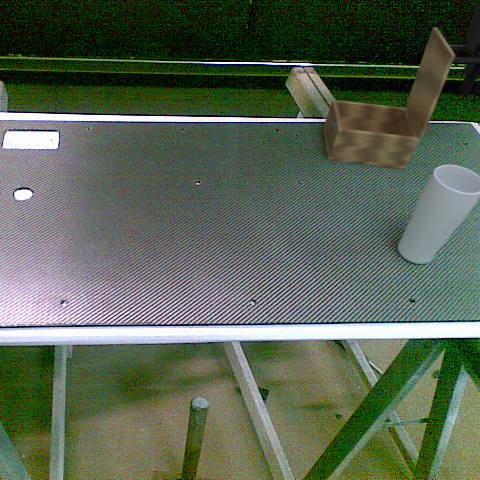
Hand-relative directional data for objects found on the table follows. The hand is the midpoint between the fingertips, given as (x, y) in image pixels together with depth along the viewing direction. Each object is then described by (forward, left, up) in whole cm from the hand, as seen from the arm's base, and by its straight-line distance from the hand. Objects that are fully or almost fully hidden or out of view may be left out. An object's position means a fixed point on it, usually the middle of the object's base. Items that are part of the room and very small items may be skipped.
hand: (471, 92), depth 85 cm
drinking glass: (+11, +29, -14) cm, 34 cm away
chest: (+15, 0, -14) cm, 20 cm away
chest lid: (+8, 0, +1) cm, 8 cm away
